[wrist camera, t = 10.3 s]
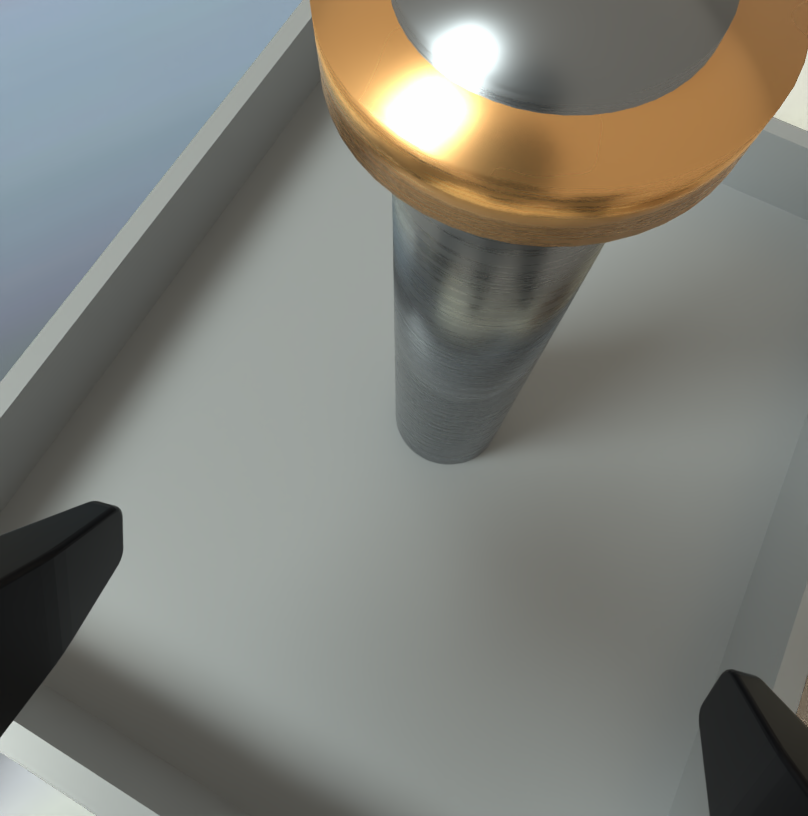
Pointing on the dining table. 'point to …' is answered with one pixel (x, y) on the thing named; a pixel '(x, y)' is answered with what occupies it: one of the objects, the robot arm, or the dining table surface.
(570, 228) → the copper collared peg
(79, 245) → the dining table surface
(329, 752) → the tray
